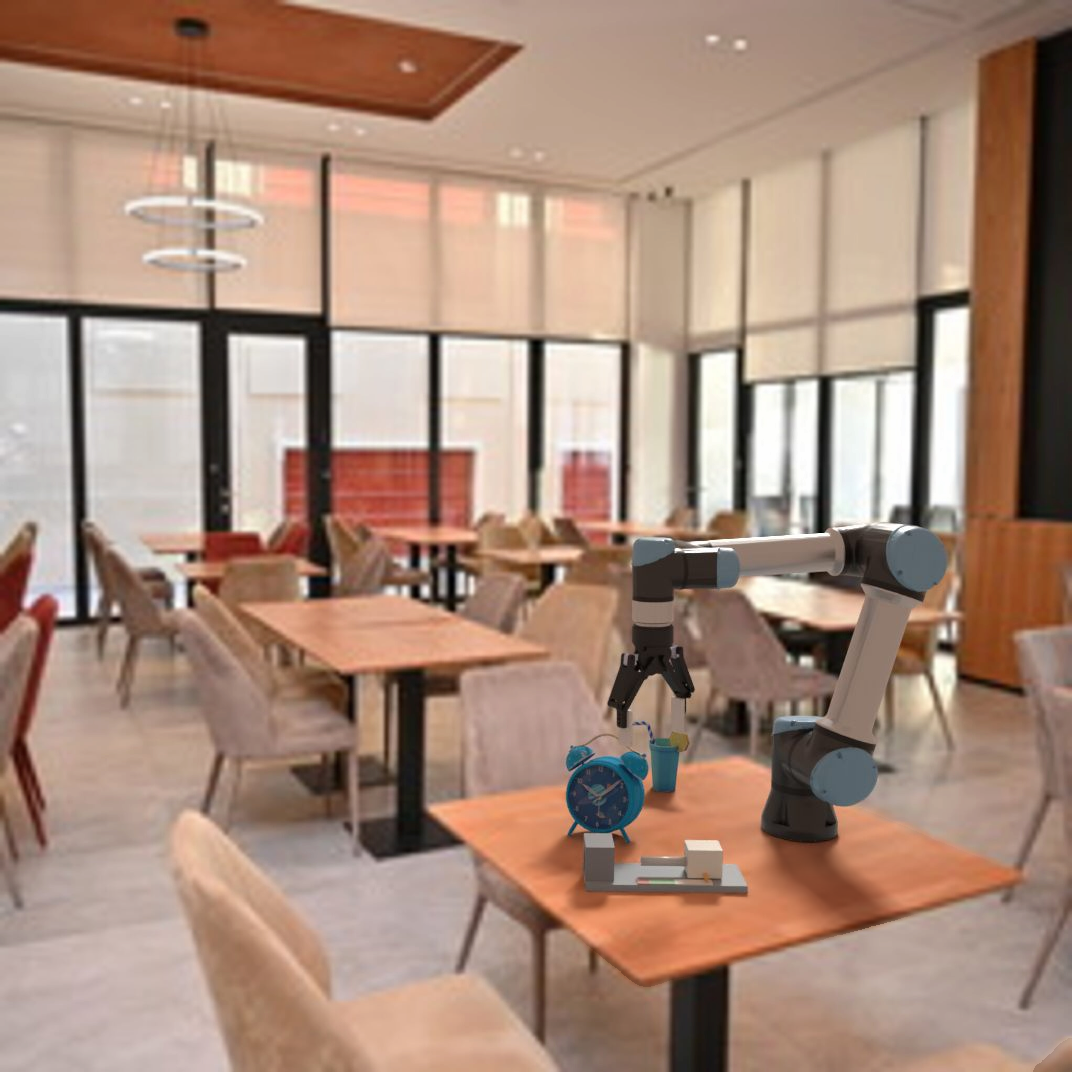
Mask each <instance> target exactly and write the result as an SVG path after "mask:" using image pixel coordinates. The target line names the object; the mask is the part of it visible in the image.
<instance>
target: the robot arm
mask: <svg viewBox="0 0 1072 1072" xmlns="http://www.w3.org/2000/svg"><path fill="white" fill-rule="evenodd" d="M946 550H947V549H946V547H945V546H944V543H943V542H942V540H941V539H940V537H939V536H938V535H937V534H935V533H934V532H933V531H931V530H929V529H926V528H925V527H920V526H918V525H913V524H903V523H893V522H886V521H875V522H869V523H861V524H856V525H849V526H848V525H847V526H840V527H838V526H837V527H828V528H827V529H826V530H825V532H824V533H812V534H811V533H809V534H794V535H793V534H792V535H775V536H774V535H773V536H761V537H746V538H729V539H713V540H711V539H710V540H703V541H702V540H698V541H697V540H696V541H684V540H674V539H672V538H669V537H660V536H659V537H656V536H655V537H649V536H648V537H647V536H646V537H640V538H637V539H635V540H634V542H633V543H632V552H631V553H632V557H631V585H632V586H631V587H632V591H631V592H632V593H631V594H632V596H631V597H632V598H631V601H632V602H631V619H632V621H633V622H634V623H633V624H632V626H631V643H632V645H633V646H634V652H633V653H631V654H630V653H626V652H623V653H621V655H620V664H619V669H618V671H617V673H616V677H615V680H614V683H613V686H612V688H611V692H610V695H609V697H608V700H607V706H608V707H609V708H614V709H615V710H616V726H617V728H618V737H619V740H618V745H621V746H624V747H626V746H627V747H630V748H632V747H633V725H632V722H633V709H630V708H631V705H632V704H633V702H634V700H635V698H636V696H637V694H638V693H639V691H640V689H641V687H642V685H643V684H644V681H646V680H648V678H649V677H653V676H654V675H661V676H662V678H663V679H664V681H665V682H666V684H667V685H668V687H669V688H670V689H671V691H672V693H673V694H674V695H673V696H671V697H670V712H671V713H670V732H671V733H672V732H676V733H680V734H684V732H685V730H686V729H685V725H686V724H685V722H686V721H685V717H686V714H687V699H691V697H692V694H693V693H695V691H696V689H695V688H696V687H695V686H694V683H693V680H692V677H691V674H690V671H689V668H688V666H687V663H686V660H685V657H684V656H685V655H684V647H683V646H680V645H677V644H676V645H675V644H674V640H675V639H674V637H675V636H674V633H675V632H674V631H675V629H674V628H675V626H674V625H673V624H672V623H673V622H674V621H675V604H674V603H675V590H676V591H681V590H682V591H683V590H721V589H731V588H733V587H736V585H737V584H738V582H739V579H740V577H741V578H742V577H743V578H744V577H759V576H760V577H761V576H772V575H785V574H786V575H791V574H805V573H806V574H807V573H817V572H818V573H819V572H820V573H821V572H827V573H828V574H829V575H830V576H833V577H836V576H849V577H850V576H851V577H856V578H857V577H858V578H861V583H860V586H861V588H862V590H863V592H864V594H865V597H864V600H863V603H862V606H861V609H860V612H859V615H858V619H857V622H856V625H855V628H854V631H853V634H852V636H851V640H850V643H849V646H848V649H847V653H846V655H845V658H844V661H843V664H842V668H841V670H840V674H839V677H838V680H837V682H836V685H835V688H834V693H833V695H832V698H831V701H830V704H829V707H828V710H827V713H826V714H825V716H816V715H787V716H780V717H777V718H776V719H775V720H774V721H773V726H772V731H771V732H772V733H771V737H772V738H771V739H772V740H771V772H770V773H771V776H770V778H771V780H770V781H771V783H770V791H769V794H768V796H767V798H766V802H765V804H764V807H763V810H762V812H761V815H760V816H761V818H760V826H761V829H762V830H763V831H764V832H766V833H767V834H769V835H770V836H773V837H775V838H779V839H782V840H789V841H795V842H805V843H817V842H824V841H829V840H831V839H834V838H835V837H837V835H838V832H839V820H838V817H837V815H836V811H835V807H842V808H843V807H852V806H855V805H857V804H859V803H860V802H863V801H865V800H866V799H867V798H868V797H869V796H870V795H871V793H872V792H873V791H874V789H875V787H876V785H877V783H878V782H877V781H878V777H879V772H878V767H877V765H876V761H875V759H874V758H873V755H874V753H875V750H876V746H877V745H878V744H877V739H876V738H875V737H876V736H874V734H873V728H874V725H875V722H876V719H877V716H878V713H879V710H880V707H881V705H882V704H881V703H882V701H883V697H884V694H885V691H886V688H887V685H888V682H889V679H890V677H891V674H892V670H893V667H894V664H895V661H896V658H897V655H898V653H899V650H900V645H901V642H902V640H903V637H904V634H905V631H906V628H907V624H908V622H909V618H910V615H911V614H912V611H913V610H914V609H915V608H917V607H919V606H922V605H923V603H924V600H925V597H926V595H927V591H930V590H932V589H933V588H934V587H935V586H937V585H938V584H940V583H941V581H942V580H943V579H944V577H945V575H946V572H947V568H948V553H947V551H946ZM627 747H626V748H627ZM834 806H835V807H834Z"/></svg>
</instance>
